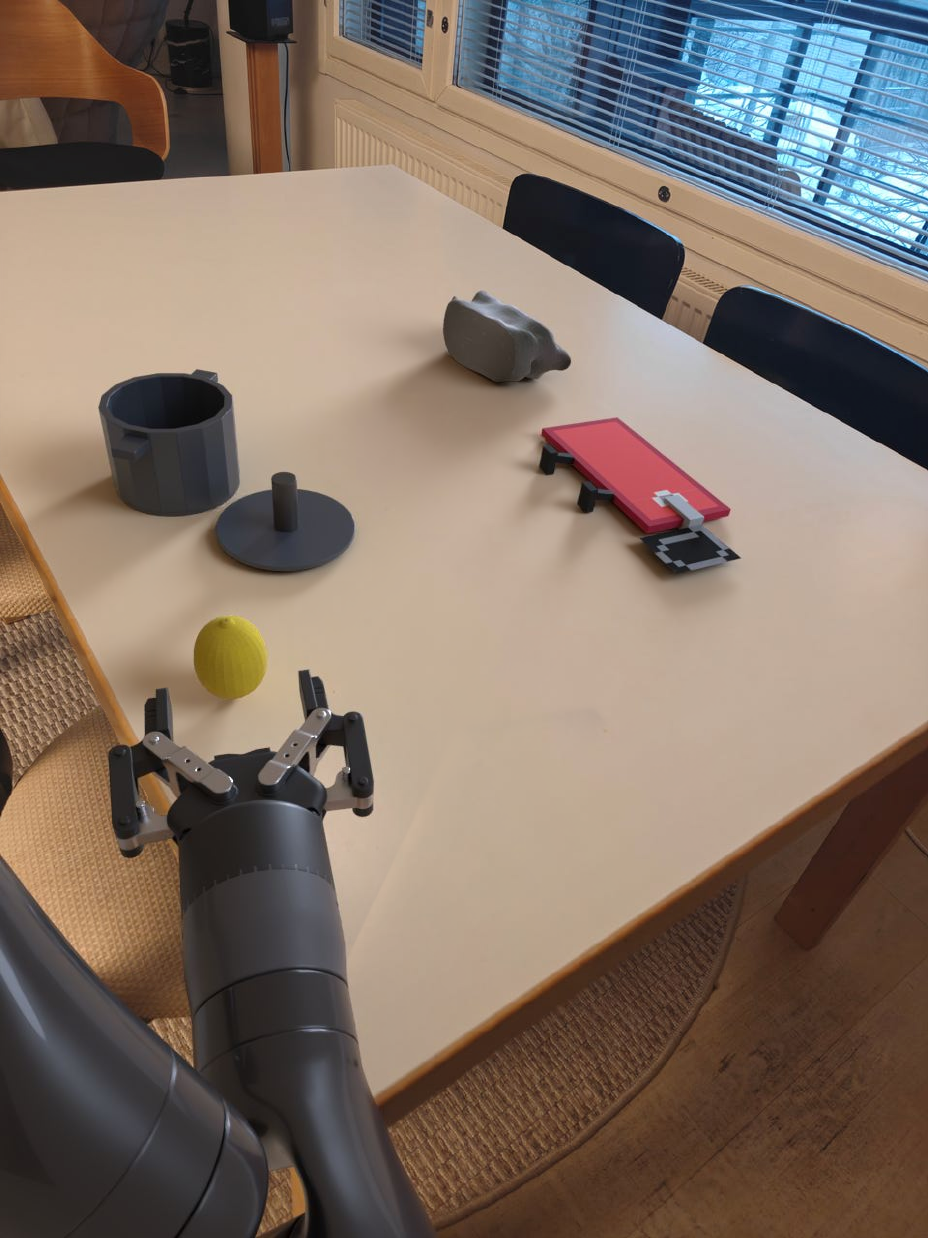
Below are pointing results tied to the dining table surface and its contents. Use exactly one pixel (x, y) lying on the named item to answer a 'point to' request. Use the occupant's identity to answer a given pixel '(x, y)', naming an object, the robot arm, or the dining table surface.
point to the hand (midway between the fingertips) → (235, 688)
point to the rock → (500, 340)
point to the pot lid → (285, 527)
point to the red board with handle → (641, 489)
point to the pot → (171, 442)
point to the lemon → (230, 657)
